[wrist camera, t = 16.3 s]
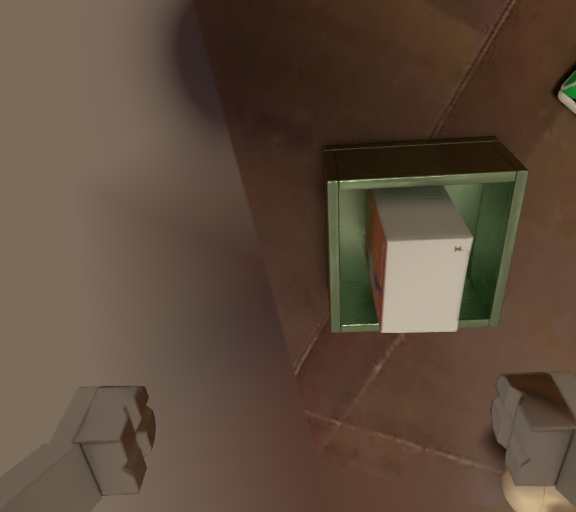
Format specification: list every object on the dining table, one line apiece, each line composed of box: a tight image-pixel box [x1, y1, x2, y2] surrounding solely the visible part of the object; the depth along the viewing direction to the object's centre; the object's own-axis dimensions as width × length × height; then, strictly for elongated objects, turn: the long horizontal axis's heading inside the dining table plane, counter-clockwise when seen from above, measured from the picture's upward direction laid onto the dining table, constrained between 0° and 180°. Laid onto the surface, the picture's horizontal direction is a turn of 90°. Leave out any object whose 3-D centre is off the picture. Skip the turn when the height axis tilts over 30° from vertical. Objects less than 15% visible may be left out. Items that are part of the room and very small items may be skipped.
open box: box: [323, 136, 529, 333], centre depth 41 cm, size 14×14×7 cm
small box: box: [365, 185, 473, 333], centre depth 39 cm, size 8×6×10 cm
